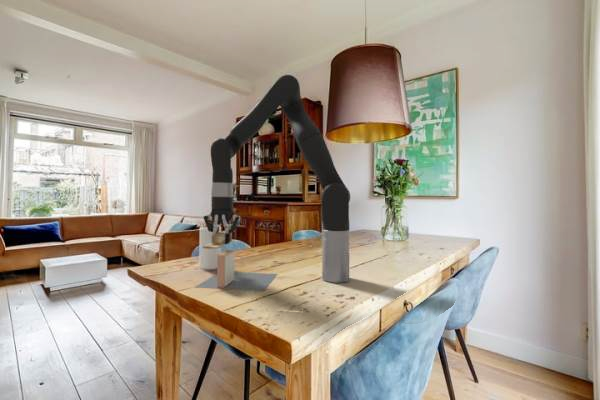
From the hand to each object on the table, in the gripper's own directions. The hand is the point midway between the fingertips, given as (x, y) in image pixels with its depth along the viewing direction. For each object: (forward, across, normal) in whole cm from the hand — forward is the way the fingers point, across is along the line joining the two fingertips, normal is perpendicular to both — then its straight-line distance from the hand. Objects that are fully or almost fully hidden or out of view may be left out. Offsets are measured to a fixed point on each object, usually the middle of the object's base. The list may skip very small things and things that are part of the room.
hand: (222, 243), depth 100 cm
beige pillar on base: (0, 0, +2) cm, 2 cm away
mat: (+12, -9, +5) cm, 15 cm away
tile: (+11, -6, +10) cm, 16 cm away
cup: (+12, +9, -10) cm, 18 cm away
